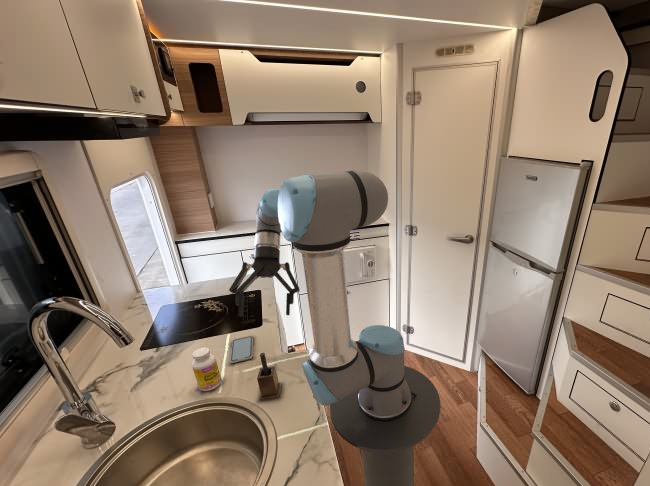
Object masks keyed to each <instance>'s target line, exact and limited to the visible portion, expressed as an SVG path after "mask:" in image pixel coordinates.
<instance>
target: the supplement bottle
mask: <svg viewBox="0 0 650 486" xmlns="http://www.w3.org/2000/svg"><path fill="white" fill-rule="evenodd" d="M192 359H193V360H192V362H191V369H192V372H193V374H194V378H195V380H196V383H197V386H198V389H199V390H200V391H202V392H209V391H213V390H214V389H217V388H218V387H219V386H220V385H221V383H222V376H221V372H220V369H219V366H218V362H217V359H216V356H215V355H214V354H212V353H211V351H210V348H208V347H200V348H197V349H195V350H194V351H193V352H192Z"/></svg>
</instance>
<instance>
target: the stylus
mask: <svg viewBox="0 0 650 486" xmlns="http://www.w3.org/2000/svg"><path fill="white" fill-rule="evenodd" d="M259 357H260V362H261V366H262V367H261V368H263V371H264V376H266V375H269V370H268V367H269V366H268V362H267V357H266V353H265V352H261V353H259Z"/></svg>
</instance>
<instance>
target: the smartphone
mask: <svg viewBox="0 0 650 486" xmlns="http://www.w3.org/2000/svg"><path fill="white" fill-rule="evenodd" d="M253 341H254V339H253V336H252V335H248V336H244V337H240V338H234V339H233V340H232V343H231V351H230V359H229V360H230V361H229V362H230V363H231V364H234V363H239V362H243V361H247V360H252V359H253V352H254V351H253V348H254V347H253V346H254V344H253V343H254V342H253Z"/></svg>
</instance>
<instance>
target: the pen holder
mask: <svg viewBox="0 0 650 486" xmlns="http://www.w3.org/2000/svg"><path fill="white" fill-rule="evenodd" d="M268 370H269V375H266V376H264V371H263V367H260V368H259V370H258V372H257V373H258V374H257V377H256V380H257V384H258V388H259V392H260V394H259V398H258V399H259V401H261V402H262V401H267V400H272V399H279V398H280V396H281V395H280V394H281V388H282V382H280V381H279V377H278V373H277V368H276V365H271V366H268Z"/></svg>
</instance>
